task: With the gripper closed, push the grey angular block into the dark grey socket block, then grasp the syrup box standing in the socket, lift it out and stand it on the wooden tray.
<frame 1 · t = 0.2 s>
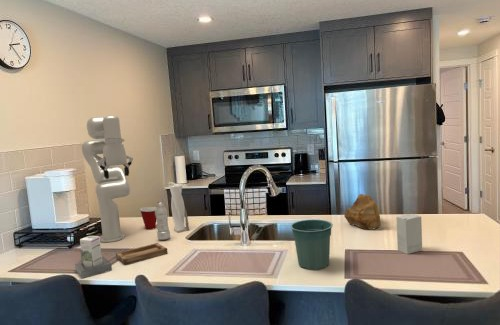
hand: (117, 177, 185), 36 cm above the countertop, tool pointing down, fingers open, 9 cm apart
wooden tray: (142, 256, 177), on the countertop
plastic cup: (151, 228, 227), on the countertop
syrup box: (93, 270, 163), resting in socket
skyscraper: (180, 230, 217), on the countertop
skincare box: (409, 251, 159), on the countertop
flower pot: (313, 264, 152), on the countertop
socket: (93, 270, 162), on the countertop
grey angular block: (89, 256, 174), point 3 cm above the countertop, slide at 0.0 cm
plastic bottle: (164, 239, 201), on the countertop
rough brown rock: (361, 225, 201), on the countertop
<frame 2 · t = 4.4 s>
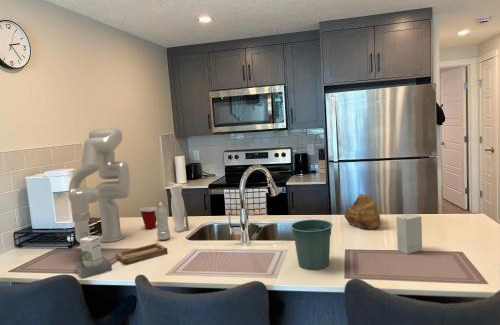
hand: (85, 254, 180), 1 cm above the countertop, tool pointing down, fingers closed
grey angular block: (89, 256, 174), point 3 cm above the countertop, slide at 0.0 cm, touching gripper
everything else where it was.
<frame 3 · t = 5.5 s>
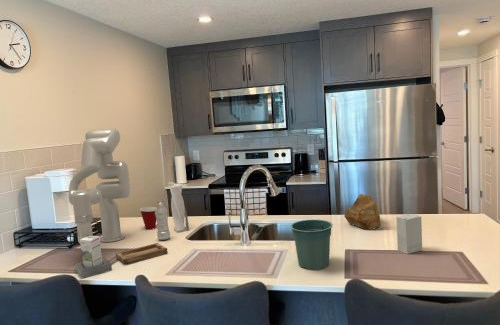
hand: (88, 257, 176), 1 cm above the countertop, tool pointing down, fingers closed
syrup box: (93, 271, 162), resting in socket, touching grey angular block
grey angular block: (91, 258, 170), point 3 cm above the countertop, slide at 5.4 cm, touching gripper, syrup box
everything else where it was.
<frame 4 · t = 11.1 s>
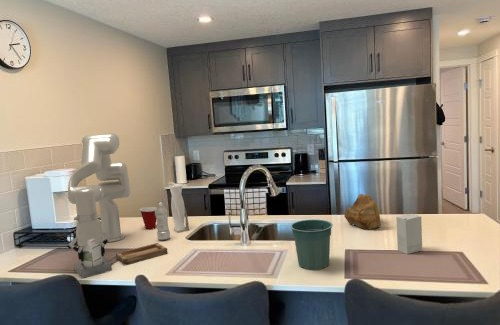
hand: (92, 258, 162), 5 cm above the countertop, tool pointing down, fingers closed on syrup box, 7 cm apart
syrup box: (93, 271, 162), resting in socket, touching gripper
grey angular block: (91, 258, 170), point 3 cm above the countertop, slide at 5.5 cm
everything else where it was.
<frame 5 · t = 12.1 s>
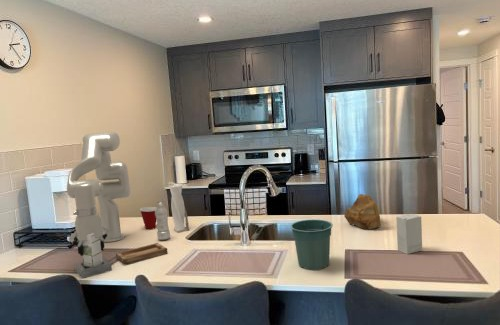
hand: (91, 252, 162), 8 cm above the countertop, tool pointing down, fingers closed on syrup box, 7 cm apart
syrup box: (93, 265, 163), point 2 cm above the countertop, touching gripper
grey angular block: (91, 258, 170), point 3 cm above the countertop, slide at 4.8 cm
everything else where it was.
when the fingers open (8 cm above the countertop, at t = 18.4 s): syrup box drops 1 cm, resting on wooden tray.
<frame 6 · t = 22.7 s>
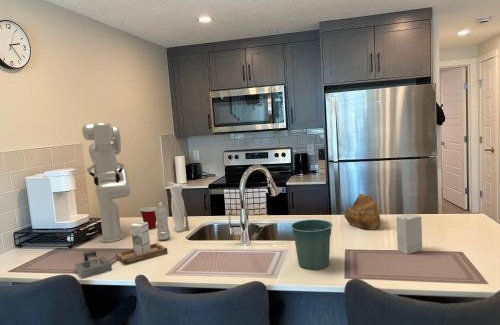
hand: (107, 183, 185), 33 cm above the countertop, tool pointing down, fingers open, 9 cm apart
syrup box: (142, 254, 177), point 1 cm above the countertop, touching wooden tray
everything else where it was.
at the end: grey angular block slide at 4.8 cm; syrup box inside the target area on the wooden tray (0.3 cm from its centre), point 0.8 cm above the wooden tray's base; syrup box tilted 0° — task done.
